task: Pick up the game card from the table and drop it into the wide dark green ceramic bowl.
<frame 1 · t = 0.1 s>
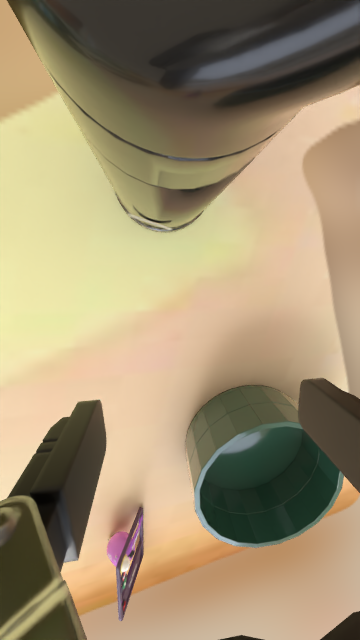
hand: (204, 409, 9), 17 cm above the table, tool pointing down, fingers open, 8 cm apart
bowl: (245, 440, 31), on the table
game card: (126, 530, 33), on the table
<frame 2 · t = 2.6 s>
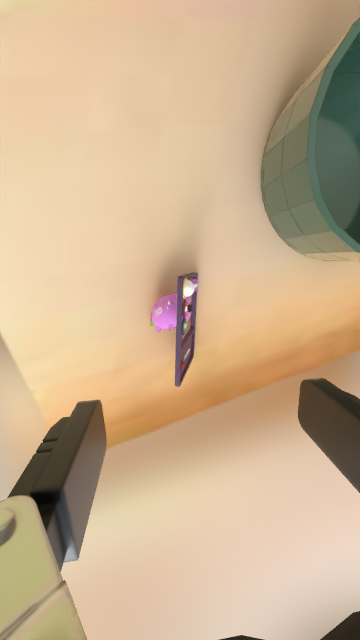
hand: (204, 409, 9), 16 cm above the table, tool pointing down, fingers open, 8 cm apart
bowl: (341, 173, 23), on the table
game card: (172, 315, 25), on the table
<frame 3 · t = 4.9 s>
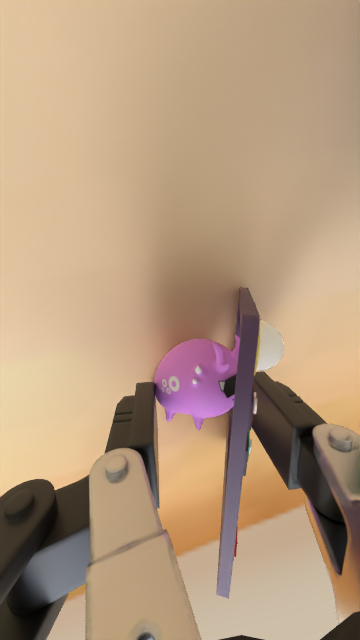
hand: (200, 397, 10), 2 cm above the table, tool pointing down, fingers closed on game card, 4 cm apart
game card: (194, 370, 13), on the table, touching gripper
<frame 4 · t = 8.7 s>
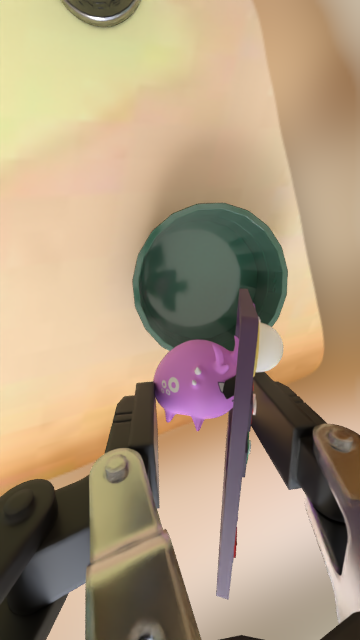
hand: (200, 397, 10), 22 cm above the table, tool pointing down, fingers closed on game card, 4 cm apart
bowl: (200, 282, 31), on the table
game card: (194, 371, 13), point 19 cm above the table, touching gripper
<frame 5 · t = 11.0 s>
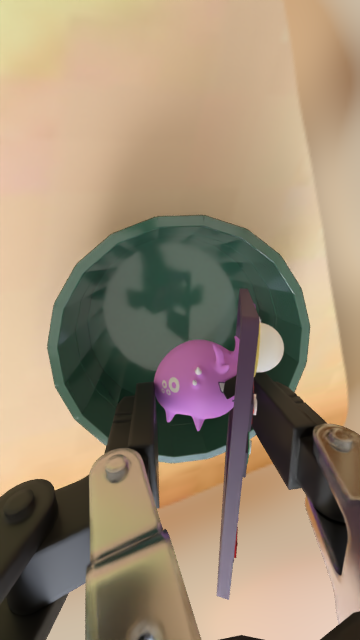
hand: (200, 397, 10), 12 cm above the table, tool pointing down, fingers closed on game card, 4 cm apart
bowl: (176, 325, 21), on the table
game card: (194, 371, 13), point 9 cm above the table, touching gripper
when the fingers open (7 cm above the table, at t = 12.7 s): game card drops 3 cm, resting on bowl.
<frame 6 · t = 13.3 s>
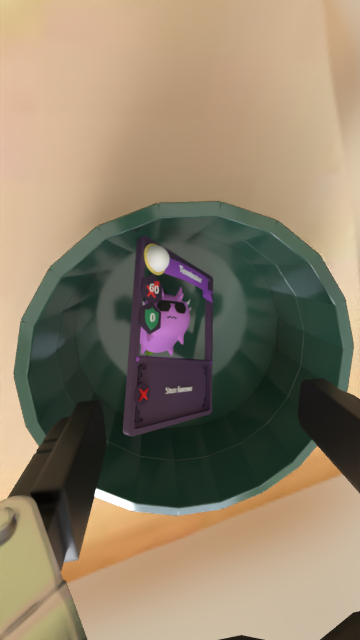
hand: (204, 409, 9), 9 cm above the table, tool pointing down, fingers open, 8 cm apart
bowl: (180, 338, 18), on the table
game card: (180, 342, 17), point 2 cm above the table, touching bowl
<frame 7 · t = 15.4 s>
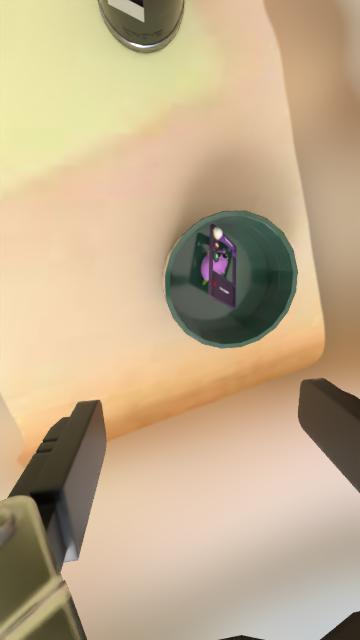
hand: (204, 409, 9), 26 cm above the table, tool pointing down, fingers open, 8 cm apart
bowl: (217, 279, 35), on the table
game card: (219, 278, 33), point 2 cm above the table, touching bowl
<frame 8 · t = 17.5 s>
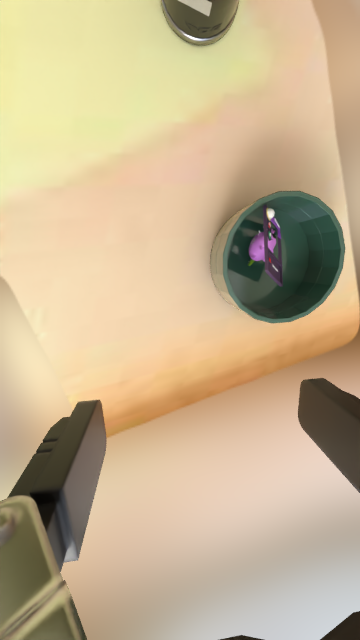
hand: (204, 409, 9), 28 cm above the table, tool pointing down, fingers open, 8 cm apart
bowl: (260, 261, 37), on the table
game card: (264, 259, 35), point 2 cm above the table, touching bowl
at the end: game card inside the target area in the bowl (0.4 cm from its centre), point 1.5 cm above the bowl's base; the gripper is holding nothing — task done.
